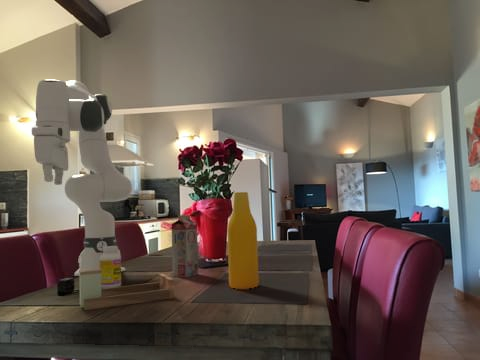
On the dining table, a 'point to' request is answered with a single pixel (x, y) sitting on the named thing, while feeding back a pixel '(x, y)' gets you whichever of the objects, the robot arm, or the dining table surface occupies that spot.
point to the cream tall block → (89, 284)
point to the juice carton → (184, 247)
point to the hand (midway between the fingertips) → (53, 183)
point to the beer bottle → (242, 245)
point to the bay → (133, 294)
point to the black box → (68, 285)
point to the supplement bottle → (110, 267)
